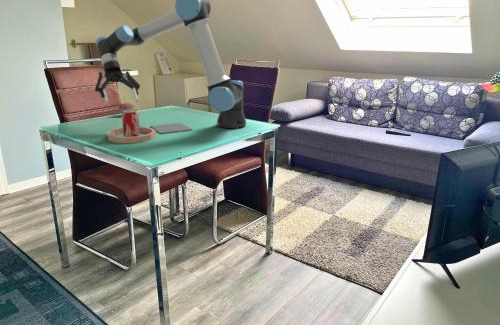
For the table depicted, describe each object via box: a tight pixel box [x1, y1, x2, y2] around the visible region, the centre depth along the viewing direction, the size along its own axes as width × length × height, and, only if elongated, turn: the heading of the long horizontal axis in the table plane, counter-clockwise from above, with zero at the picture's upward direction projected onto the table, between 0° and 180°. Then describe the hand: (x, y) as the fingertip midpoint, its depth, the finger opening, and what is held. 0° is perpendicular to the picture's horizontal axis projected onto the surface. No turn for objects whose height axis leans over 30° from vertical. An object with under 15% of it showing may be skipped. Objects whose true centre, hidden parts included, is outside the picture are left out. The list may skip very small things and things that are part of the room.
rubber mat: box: [149, 122, 193, 135], centre depth 187 cm, size 16×16×1 cm
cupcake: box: [118, 95, 135, 115], centre depth 213 cm, size 9×8×12 cm
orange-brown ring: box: [107, 126, 156, 144], centre depth 170 cm, size 20×20×2 cm
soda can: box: [121, 109, 141, 137], centre depth 169 cm, size 7×7×12 cm
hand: (122, 101), depth 174 cm, fingers open, 13 cm apart
